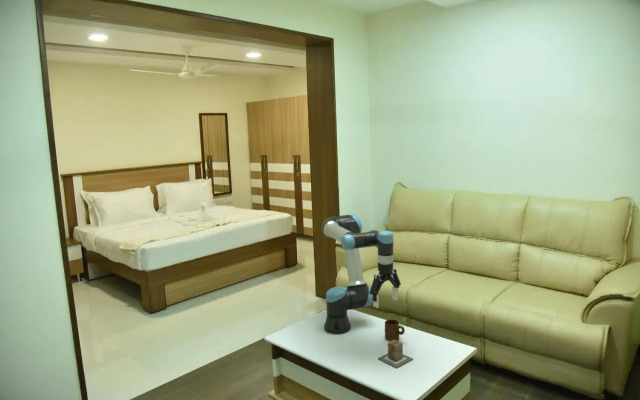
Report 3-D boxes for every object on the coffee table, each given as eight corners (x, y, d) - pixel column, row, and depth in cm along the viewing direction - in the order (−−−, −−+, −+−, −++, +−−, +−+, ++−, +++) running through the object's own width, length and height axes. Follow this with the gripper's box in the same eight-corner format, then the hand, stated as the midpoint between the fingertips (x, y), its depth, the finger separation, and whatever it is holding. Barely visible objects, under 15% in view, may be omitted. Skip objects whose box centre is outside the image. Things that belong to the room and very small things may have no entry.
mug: (408, 340, 234) (408, 324, 233) (400, 345, 229) (399, 328, 228) (390, 334, 243) (390, 317, 241) (382, 338, 238) (381, 322, 236)
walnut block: (388, 358, 215) (387, 342, 214) (394, 354, 218) (394, 339, 217) (395, 362, 211) (395, 346, 210) (402, 358, 215) (402, 342, 213)
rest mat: (377, 359, 216) (377, 358, 216) (394, 351, 223) (394, 350, 223) (396, 368, 207) (396, 367, 207) (413, 359, 214) (413, 358, 214)
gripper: (373, 270, 206) (373, 312, 210) (407, 258, 222) (407, 298, 225) (361, 266, 212) (362, 308, 216) (396, 255, 227) (396, 294, 231)
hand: (385, 303), depth 220 cm, fingers open, 13 cm apart
